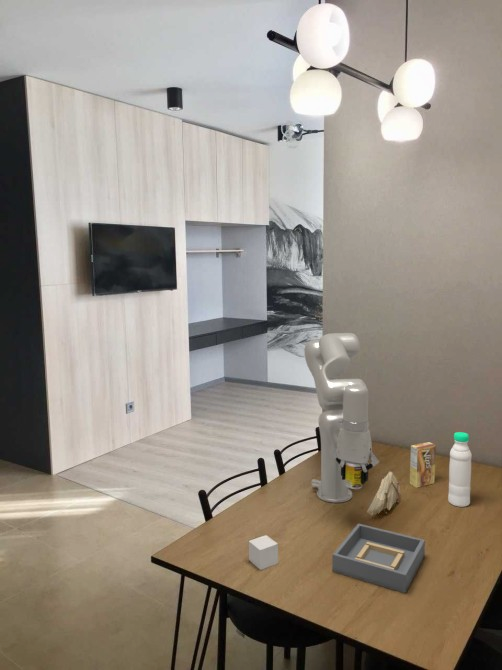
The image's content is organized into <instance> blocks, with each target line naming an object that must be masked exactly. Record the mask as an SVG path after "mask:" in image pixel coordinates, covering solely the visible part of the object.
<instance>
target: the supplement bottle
mask: <svg viewBox="0 0 502 670" xmlns="http://www.w3.org/2000/svg"><path fill="white" fill-rule="evenodd" d="M362 471H363V469H362V466H361V464H358V463H353V462H348V461H346V468H345V485H346V486H347V487H348V489H350V490H351V489H352V490H360V489H361V488H363V486H364V484H362V483H361V472H362Z"/></svg>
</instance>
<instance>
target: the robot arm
mask: <svg viewBox="0 0 502 670" xmlns="http://www.w3.org/2000/svg"><path fill="white" fill-rule="evenodd" d="M304 346H305V347H304V357H305V362H306V363H305V364H306V366H307V367H308V370H309V371H310V374H311V376H312V378H313V380H314V386H315V390H316V397H317V401H318V404H319V407H321V409H322V410H324V411H323V412H321V413H320V415H319V417H318V427H319V428H318V429H319V435H320V453H321V454H320V456H321V457H320V464H321V466H320V467H321V468H320V472H321V473H320V480H318V479H314V478H312V480H311V482H310V483H311V487H312V488H317V490H316V496H317V497H318V498H319V499H320V500H322V501H324V502H327V503H335V504H336V503H344V502H348V501H349V500H351V499H352V498H353V492H352V490H351V488H348V487H347V486H346V485H345V468H346V461H348V462H353V463H358V464H361V466H362V469H363V471H362V472H361V483H362V484H363V485H364V484H365V483H366V482H368V480H369V470H371V469H372V468H373V467H375V466H376V465H377V464H379V463H380V461H379V459H378V458H377V456H376V455H375V454H374V452H373V447H372V446H373V445H372V443H373V442H372V437H371V431H370V428H369V427H370V425H369V417H368V416H369V410H368V409H369V389H368V387H367V385H366V383H365V382H364V380H362V378H361V379H360V378H341V379H340V378H339V379H338V376H341V375H342V374H344V373H346V371H348V370H349V368H350V366H351V359H354V358H356V357H357V356H358V355H359V353H360V350H361V342H360V340H359V337H358V336H357V335H356V334H355V333H353V332H336V333H335V332H332V333H327V334H324V335H322V336H321V337H320V338H318V339H312V340H309V341H308V342H306V344H305V345H304ZM369 461H371V462H370V463H369Z"/></svg>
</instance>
